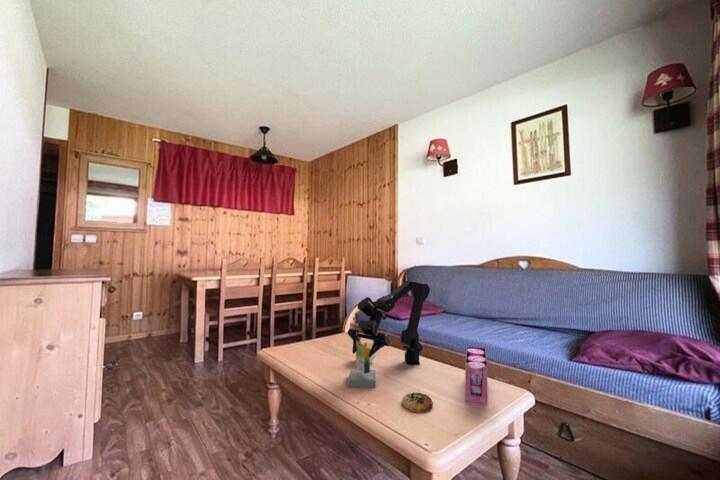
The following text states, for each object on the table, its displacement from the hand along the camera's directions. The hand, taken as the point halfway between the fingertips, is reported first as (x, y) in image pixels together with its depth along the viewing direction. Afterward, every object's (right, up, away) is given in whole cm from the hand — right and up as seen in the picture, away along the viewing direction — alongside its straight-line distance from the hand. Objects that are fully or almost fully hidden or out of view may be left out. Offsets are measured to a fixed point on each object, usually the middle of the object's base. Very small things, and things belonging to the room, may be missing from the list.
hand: (361, 355), depth 127 cm
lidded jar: (+2, -13, +25) cm, 28 cm away
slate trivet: (+1, -12, +1) cm, 12 cm away
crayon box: (+1, -7, +1) cm, 7 cm away
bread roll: (+20, -11, -19) cm, 29 cm away
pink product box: (+46, -12, -6) cm, 47 cm away
